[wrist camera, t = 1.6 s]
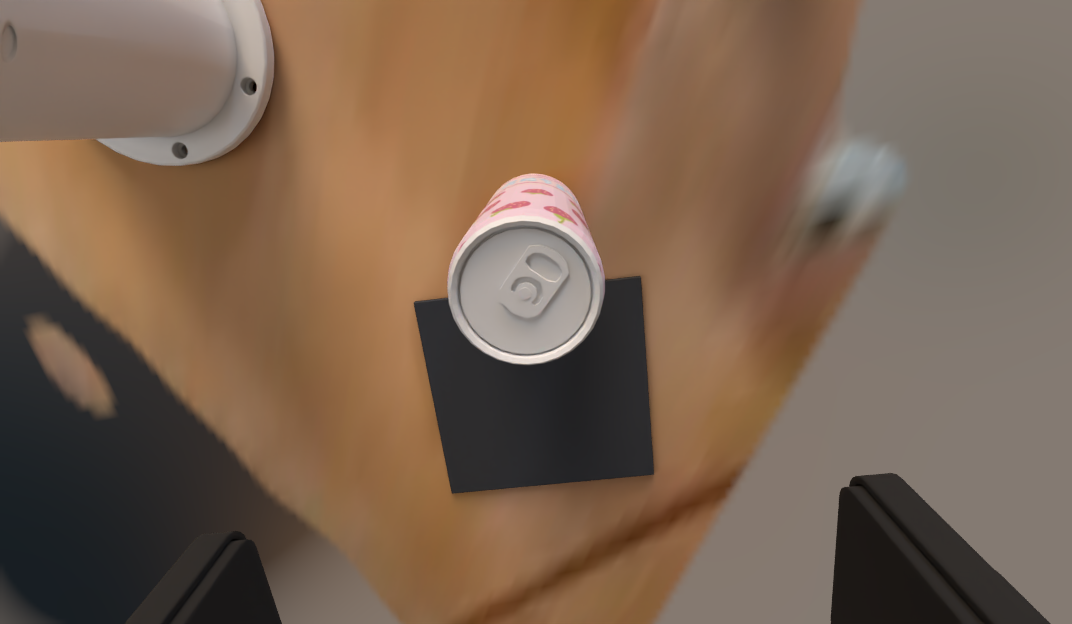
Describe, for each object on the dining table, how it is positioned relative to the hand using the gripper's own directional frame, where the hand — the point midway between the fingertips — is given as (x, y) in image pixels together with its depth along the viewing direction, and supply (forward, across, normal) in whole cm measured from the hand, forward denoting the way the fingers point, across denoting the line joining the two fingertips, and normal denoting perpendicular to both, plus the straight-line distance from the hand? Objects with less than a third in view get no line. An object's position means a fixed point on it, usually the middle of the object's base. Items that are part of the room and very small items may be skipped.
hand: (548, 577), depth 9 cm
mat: (+26, +1, +10) cm, 28 cm away
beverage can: (+26, 0, -1) cm, 26 cm away
